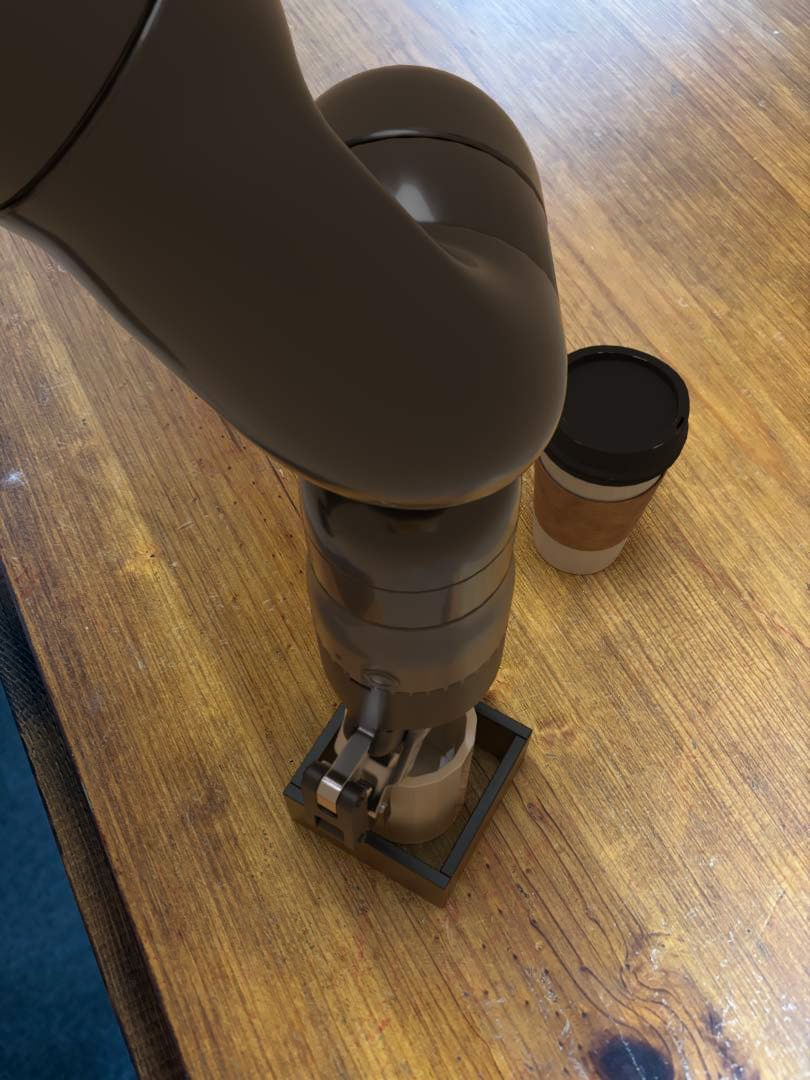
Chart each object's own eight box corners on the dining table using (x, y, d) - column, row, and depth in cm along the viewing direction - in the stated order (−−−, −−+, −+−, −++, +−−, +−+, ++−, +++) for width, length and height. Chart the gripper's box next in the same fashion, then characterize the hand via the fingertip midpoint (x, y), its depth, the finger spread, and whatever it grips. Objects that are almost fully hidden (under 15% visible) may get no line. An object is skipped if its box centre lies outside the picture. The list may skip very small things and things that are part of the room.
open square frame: (441, 909, 58) (444, 890, 53) (290, 818, 60) (281, 792, 56) (524, 758, 62) (533, 729, 57) (380, 679, 64) (378, 645, 60)
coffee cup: (607, 615, 66) (656, 485, 53) (489, 553, 69) (509, 414, 56) (663, 517, 70) (723, 373, 57) (549, 461, 72) (582, 310, 59)
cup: (430, 866, 59) (434, 811, 49) (332, 807, 60) (318, 744, 51) (484, 768, 62) (499, 699, 52) (390, 715, 63) (387, 638, 54)
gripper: (418, 421, 44) (417, 597, 58) (219, 703, 38) (272, 823, 52) (583, 499, 42) (541, 661, 56) (401, 809, 36) (405, 903, 50)
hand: (411, 739), depth 54 cm, fingers open, 8 cm apart
